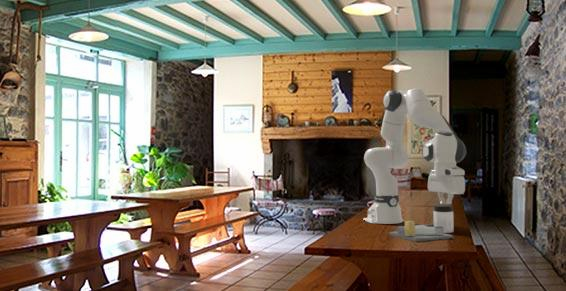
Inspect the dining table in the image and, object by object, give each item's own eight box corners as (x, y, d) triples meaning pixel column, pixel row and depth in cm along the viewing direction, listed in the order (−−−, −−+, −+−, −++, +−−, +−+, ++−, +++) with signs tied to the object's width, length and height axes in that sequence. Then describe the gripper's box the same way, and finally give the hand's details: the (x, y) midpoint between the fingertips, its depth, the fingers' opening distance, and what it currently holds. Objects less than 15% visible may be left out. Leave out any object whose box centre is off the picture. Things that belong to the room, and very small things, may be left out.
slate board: (389, 234, 244) (389, 232, 244) (424, 231, 251) (424, 229, 251) (415, 241, 225) (415, 238, 225) (453, 238, 232) (453, 235, 232)
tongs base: (397, 233, 239) (397, 226, 239) (430, 231, 245) (430, 223, 245) (405, 235, 233) (405, 228, 234) (438, 232, 240) (438, 225, 240)
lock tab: (404, 235, 233) (404, 221, 233) (410, 234, 234) (410, 220, 234) (408, 236, 230) (408, 221, 230) (414, 235, 231) (414, 221, 231)
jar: (444, 233, 245) (443, 206, 245) (429, 231, 252) (429, 205, 252) (457, 231, 250) (456, 205, 250) (443, 229, 257) (442, 204, 257)
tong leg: (414, 234, 234) (414, 226, 234) (414, 233, 237) (414, 226, 237) (443, 234, 233) (443, 227, 233) (442, 233, 235) (442, 226, 235)
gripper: (423, 169, 237) (424, 201, 237) (454, 171, 218) (455, 206, 218) (435, 169, 239) (436, 201, 239) (467, 171, 220) (468, 205, 220)
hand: (445, 203), depth 228 cm, fingers open, 3 cm apart
